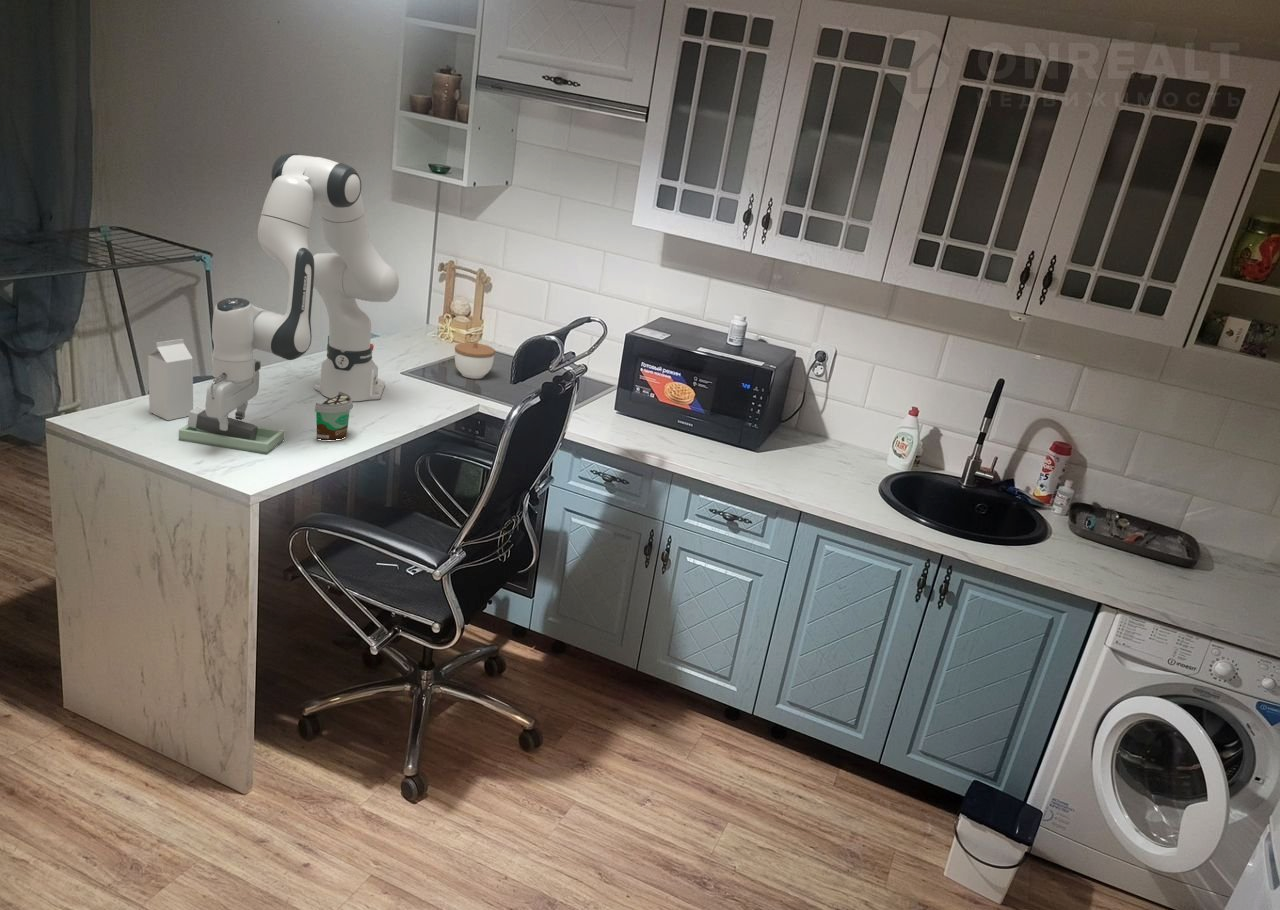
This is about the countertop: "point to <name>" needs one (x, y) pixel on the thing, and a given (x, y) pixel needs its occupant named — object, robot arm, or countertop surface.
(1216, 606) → the countertop surface
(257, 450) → the tray
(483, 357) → the lidded bowl
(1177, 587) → the countertop surface
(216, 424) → the dark grey bar
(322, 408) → the food container
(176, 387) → the milk carton
